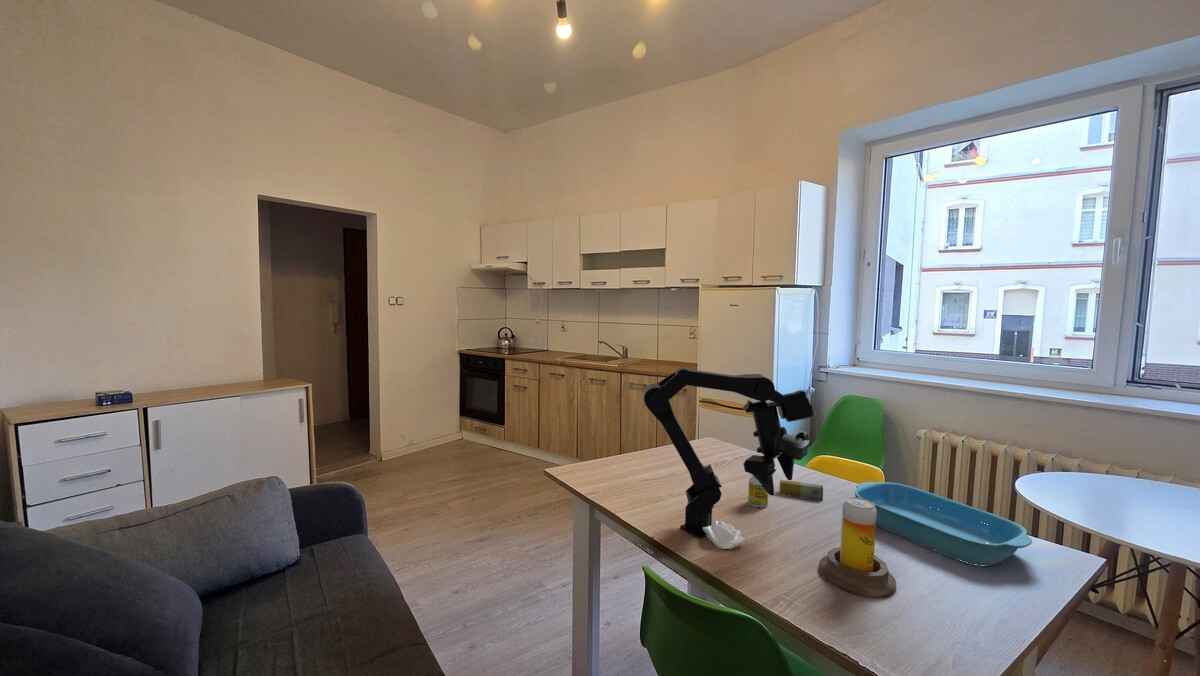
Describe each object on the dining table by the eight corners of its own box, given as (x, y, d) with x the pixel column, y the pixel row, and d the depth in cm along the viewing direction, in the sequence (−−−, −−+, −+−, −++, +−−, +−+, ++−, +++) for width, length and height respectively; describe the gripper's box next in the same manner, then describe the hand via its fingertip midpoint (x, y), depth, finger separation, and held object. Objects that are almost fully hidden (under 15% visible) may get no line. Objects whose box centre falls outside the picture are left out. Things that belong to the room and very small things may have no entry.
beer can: (874, 584, 92) (878, 511, 91) (840, 576, 94) (844, 505, 93) (870, 568, 97) (875, 499, 96) (838, 561, 100) (842, 494, 99)
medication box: (822, 498, 137) (822, 484, 137) (823, 501, 134) (823, 487, 134) (779, 491, 141) (779, 478, 141) (779, 494, 138) (779, 481, 138)
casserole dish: (1047, 560, 105) (1049, 529, 104) (1002, 587, 94) (1005, 553, 93) (882, 499, 137) (883, 475, 136) (835, 514, 126) (836, 489, 126)
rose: (695, 523, 109) (710, 509, 117) (694, 541, 109) (709, 525, 117) (737, 536, 103) (750, 520, 111) (736, 555, 104) (749, 538, 111)
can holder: (878, 607, 86) (880, 589, 86) (806, 572, 97) (807, 556, 97) (907, 581, 95) (908, 564, 94) (837, 552, 106) (838, 537, 105)
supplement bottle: (762, 499, 134) (763, 467, 133) (771, 507, 129) (772, 474, 128) (744, 500, 133) (745, 468, 133) (753, 508, 128) (754, 475, 127)
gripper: (780, 440, 100) (795, 509, 100) (817, 414, 112) (830, 476, 112) (736, 438, 108) (749, 501, 109) (774, 414, 120) (787, 471, 121)
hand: (781, 487), depth 112 cm, fingers open, 9 cm apart
